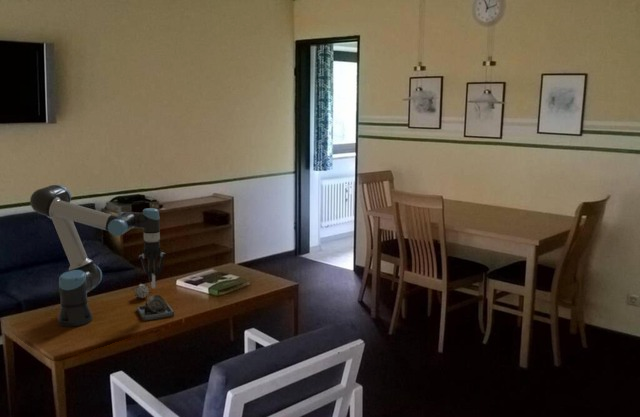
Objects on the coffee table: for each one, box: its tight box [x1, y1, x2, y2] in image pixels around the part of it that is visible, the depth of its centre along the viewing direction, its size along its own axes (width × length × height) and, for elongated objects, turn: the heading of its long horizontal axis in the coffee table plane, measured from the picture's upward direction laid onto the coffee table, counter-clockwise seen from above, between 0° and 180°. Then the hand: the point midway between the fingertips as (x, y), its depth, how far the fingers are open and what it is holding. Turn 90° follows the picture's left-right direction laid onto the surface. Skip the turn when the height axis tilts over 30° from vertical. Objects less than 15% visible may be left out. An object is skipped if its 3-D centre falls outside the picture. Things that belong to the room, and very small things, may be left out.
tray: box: [136, 301, 175, 322], centre depth 298 cm, size 15×16×2 cm
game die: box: [132, 282, 152, 301], centre depth 319 cm, size 9×8×10 cm
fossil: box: [144, 294, 168, 314], centre depth 297 cm, size 11×9×10 cm
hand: (153, 287), depth 296 cm, fingers closed
